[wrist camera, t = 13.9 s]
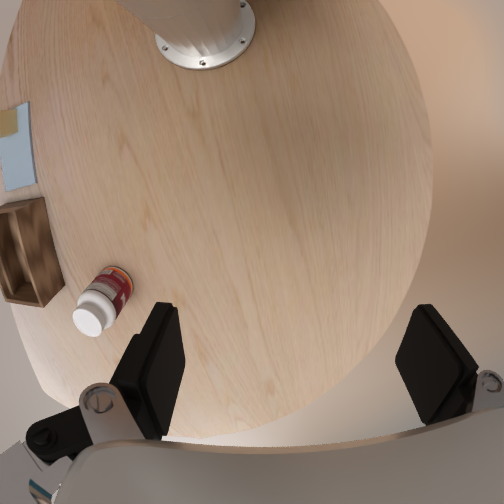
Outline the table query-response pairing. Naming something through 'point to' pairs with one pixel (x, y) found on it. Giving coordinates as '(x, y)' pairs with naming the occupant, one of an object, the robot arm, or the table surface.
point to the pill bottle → (102, 301)
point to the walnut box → (28, 254)
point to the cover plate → (17, 148)
